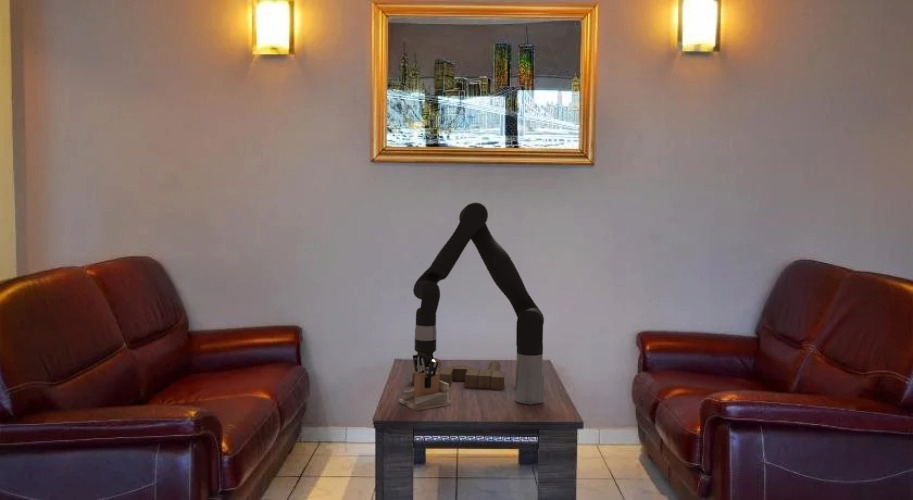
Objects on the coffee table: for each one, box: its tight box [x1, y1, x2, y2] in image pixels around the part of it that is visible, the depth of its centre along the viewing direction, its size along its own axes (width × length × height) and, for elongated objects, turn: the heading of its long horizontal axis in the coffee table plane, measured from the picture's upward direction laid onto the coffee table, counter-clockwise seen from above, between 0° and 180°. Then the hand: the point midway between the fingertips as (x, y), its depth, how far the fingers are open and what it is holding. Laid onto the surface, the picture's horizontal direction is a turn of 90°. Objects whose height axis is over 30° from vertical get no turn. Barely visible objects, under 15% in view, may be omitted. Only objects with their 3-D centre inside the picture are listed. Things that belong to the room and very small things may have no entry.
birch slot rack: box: [398, 380, 452, 411], centre depth 241 cm, size 12×14×7 cm
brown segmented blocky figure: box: [411, 357, 505, 390], centre depth 278 cm, size 35×6×29 cm
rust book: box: [413, 372, 440, 396], centre depth 241 cm, size 4×8×8 cm, turn 123°
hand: (424, 386), depth 241 cm, fingers closed on rust book, 3 cm apart
